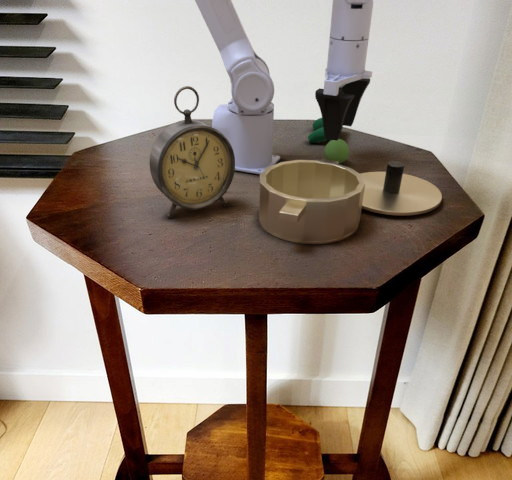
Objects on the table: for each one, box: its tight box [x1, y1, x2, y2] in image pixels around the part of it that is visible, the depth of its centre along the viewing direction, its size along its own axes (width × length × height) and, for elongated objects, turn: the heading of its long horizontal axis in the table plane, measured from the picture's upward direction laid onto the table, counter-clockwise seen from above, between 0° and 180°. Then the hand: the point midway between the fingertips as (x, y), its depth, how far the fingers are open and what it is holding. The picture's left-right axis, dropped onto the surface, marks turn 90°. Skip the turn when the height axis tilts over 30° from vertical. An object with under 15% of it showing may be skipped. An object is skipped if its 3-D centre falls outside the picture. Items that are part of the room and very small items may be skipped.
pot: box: [258, 158, 365, 245], centre depth 73 cm, size 14×19×6 cm
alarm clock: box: [149, 85, 236, 219], centre depth 72 cm, size 11×5×16 cm, turn 118°
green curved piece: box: [307, 117, 344, 144], centre depth 100 cm, size 9×4×6 cm
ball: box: [324, 138, 350, 165], centre depth 90 cm, size 4×4×4 cm
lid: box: [359, 160, 443, 216], centre depth 79 cm, size 15×15×5 cm
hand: (338, 132), depth 88 cm, fingers open, 7 cm apart
